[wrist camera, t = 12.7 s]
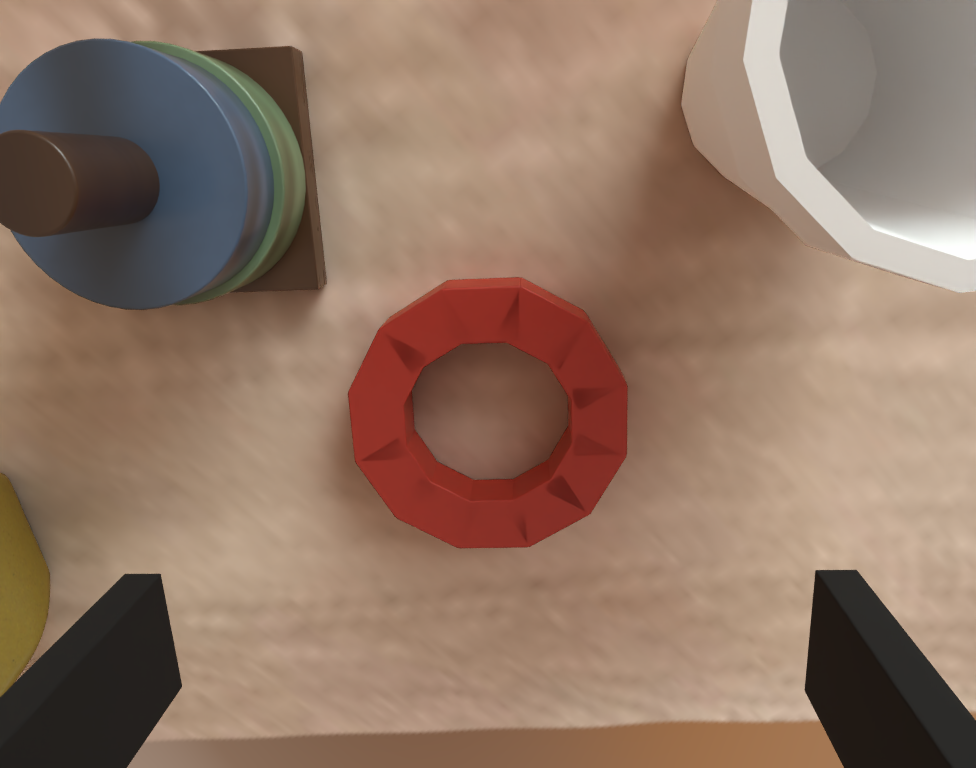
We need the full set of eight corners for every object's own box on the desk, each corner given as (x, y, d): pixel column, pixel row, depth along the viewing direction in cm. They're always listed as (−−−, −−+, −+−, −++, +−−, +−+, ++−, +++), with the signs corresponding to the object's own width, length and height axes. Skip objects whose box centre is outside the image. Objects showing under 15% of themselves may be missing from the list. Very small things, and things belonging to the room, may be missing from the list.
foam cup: (842, -136, 23) (1224, -498, 10) (969, 124, 25) (1420, 82, 12) (582, 54, 25) (642, -60, 12) (719, 281, 27) (891, 383, 14)
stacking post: (302, 51, 25) (165, -20, 16) (327, 284, 27) (220, 348, 18) (76, 64, 26) (-192, 2, 16) (119, 291, 28) (-94, 357, 18)
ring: (621, 273, 27) (628, 281, 25) (619, 521, 30) (626, 546, 28) (350, 283, 27) (337, 292, 25) (374, 526, 30) (363, 550, 28)
